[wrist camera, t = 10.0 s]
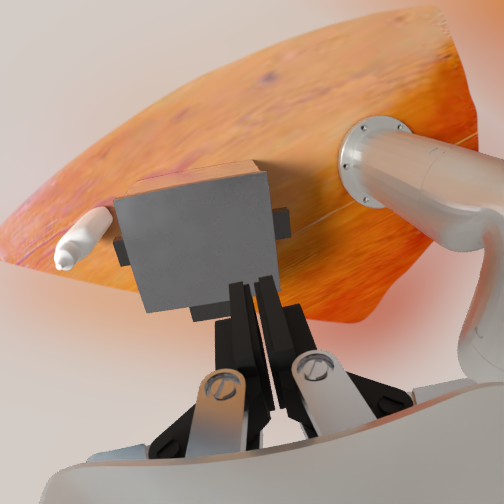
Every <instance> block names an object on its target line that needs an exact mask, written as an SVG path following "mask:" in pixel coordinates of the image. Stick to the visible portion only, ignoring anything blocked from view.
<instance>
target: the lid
mask: <svg viewBox="0 0 504 504" xmlns="http://www.w3.org/2000/svg"><path fill="white" fill-rule="evenodd" d="M113 203H114V207H115V211H116V215H117V218H118V222H119V226H120V230H121V233H122V237H123V241H124V244H125V248H126V251H127V254H128V258H129V261H130V264H131V268H132V271H133V274H134V277H135V280H136V283H137V286H138V289H139V292H140V295H141V298H142V301H143V304H144V307H145V310H146V313H152V312H159V311H165V310H173V309H179V308H186V307H189V308H190V312H191V315H192V319H193V322H197V321H203V320H210V319H216V318H222V317H228V316H231V313H230V299H229V284H231V283H236V282H241V281H243V284H244V285H245V284H249V286H250V290H251V294H252V296H256V293H255V288H254V282H259V279H258V278H259V277H264V276H269V275H272V276H273V279H274V282H275V286H276V289H277V292H280V291H281V290H280V280H279V271H278V262H277V252H276V243H275V234H274V226H273V217H272V208H271V200H270V192H269V183H268V175H267V171H266V170H264V171H257V172H250V173H244V174H237V175H231V176H225V177H219V178H213V179H207V180H202V181H196V182H191V183H185V184H180V185H175V186H170V187H165V188H160V189H155V190H150V191H146V192H141V193H136V194H132V195H128V196H123V197H119V198H116V199H114V200H113Z"/></svg>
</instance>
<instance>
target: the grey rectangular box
mask: <svg viewBox="0 0 504 504" xmlns="http://www.w3.org/2000/svg"><path fill="white" fill-rule="evenodd" d="M257 171H260V170H259V169H258V167H257V166H256V165H255V163H254V162H253V161H252V160H246V161H239V162H233V163H227V164H220V165H214V166H209V167H203V168H197V169H192V170H187V171H181V172H176V173H171V174H166V175H161V176H157V177H152V178H147V179H143V180H138V181H136V182H135V183H134V184H133V186H132V187H131V188H130V189H129V190H128V191H127V192H126V194H125V195H124V196H128V195H132V194H136V193H141V192H146V191H150V190H155V189H160V188H165V187H170V186H175V185H180V184H185V183H191V182H196V181H202V180H207V179H213V178H219V177H225V176H231V175H237V174H244V173H250V172H257ZM272 217H273V226H274V234H275V240H278V239H284V238H290V237H291V230H290V218H289V210H288V209H287V208H286V207H285V208H278V209H272ZM113 245H114V248H115V251H116V254H117V257H118V260H119V263H120V266H121V267H122V266H128V265H131V264H130V261H129V258H128V254H127V251H126V248H125V244H124V241H123V237H122V236H121V237H116V238H115V239H114V241H113Z"/></svg>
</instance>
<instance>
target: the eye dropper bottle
mask: <svg viewBox="0 0 504 504" xmlns="http://www.w3.org/2000/svg"><path fill="white" fill-rule="evenodd" d="M112 221H113V217H112V215H111V214H110V212H109V211H108V209H107V208H106V207H97V208H94V209H92V210H90V211H88V212H87V213H85V214H84V215H83V216H82V217H81V218H80V219H79V220H78V221H77V222H76V223H75V224H74V225H73V226H72V227H71V228H70V230H69V231H68V232H67V233H66V234H65V235H64V236H63V237H62V238H61V240H60V241H59V243H58V244H57V247H56V253H55V256H54V260H55V263H56V268H57V269H58V270H61V269H62V270H66V271H67V270H70V269H72V268H73V266H74V265H75V264H76V262H78V261H80V260H82V259H84V258H85V257H86V256H87V255H88V254H89V253H90V252H91V251H92V250H93V249H94V247H95V246H96V244H97V243H98V242H99V240H100V239H101V237H102V236H103V235H104V233H105V232H106V230H107V229H108V228H109V226H110V225H111V223H112Z"/></svg>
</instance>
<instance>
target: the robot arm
mask: <svg viewBox="0 0 504 504" xmlns="http://www.w3.org/2000/svg"><path fill="white" fill-rule="evenodd" d="M361 126H362V127H363V128H362V129H361ZM344 164H345V167H343V165H344ZM338 171H339V176H340V179H341V182H342V184H343V186H344V188H345V189H346V191H347V193H348V194H349V195H350V196H351V197H352V198H353V199H355V200H356V201H357V202H359V203H360V204H362V205H364V206H367V207H370V208H386V207H387V208H389V209H390V210H392V211H393V212H395V213H396V214H397V215H399V216H400V217H402V218H403V219H405V220H406V221H407V222H409V223H410V224H412V225H413V226H414V227H416V228H417V229H419V230H420V231H421V232H423V233H424V234H425V235H427V236H428V237H430V238H431V239H433V240H434V241H435V242H437V243H438V244H439V245H441V246H442V247H444V248H446V249H448V250H451V251H455V252H471V251H475V250H479V249H482V248H484V250H485V253H484V260H483V264H482V268H481V271H480V277H479V281H478V284H477V287H476V290H475V293H474V296H473V299H472V302H471V305H470V307H469V310H468V313H467V316H466V318H465V321H464V324H463V327H462V330H461V333H460V336H459V341H458V360H459V363H460V366H461V369H462V370H463V372H464V373H465V375H466V376H467V377H468V378H466V379H458V380H455V381H449V382H445V383H440V384H435V385H430V386H425V387H419V388H414V389H413V391H412V392H407V393H406V392H405V391H403V390H400V389H398V388H395V387H391V386H388V385H385V384H382V383H379V382H376V381H373V380H370V379H367V378H364V377H361V376H358V375H355V374H352V373H349V372H346V371H345V370H344V368H343V367H342V365H341V364H340V362H339V361H338V359H337V358H336V357H335V356H334V355H333V354H331V353H329V352H327V351H323V350H317V348H316V345H315V343H314V340H313V337H312V335H311V332H310V329H309V327H308V324H307V321H306V319H305V316H304V313H303V311H302V308H301V306H300V304H295V305H290V306H286V307H282V306H281V302H280V299H279V296H278V292H277V289H276V286H275V282H274V279H273V276H272V275H269V276H264V277H259V278H258V279H259V282H254V288H255V293H256V299H257V304H258V309H259V314H260V319H261V324H262V328H263V334H264V339H265V345H266V350H267V354H268V359H269V363H270V368H271V372H272V376H273V381H274V385H275V389H276V393H277V398H278V402H279V406H280V409H283V408H286V409H287V414H288V417H289V418H291V419H294V420H296V421H298V422H300V426H301V429H302V431H303V433H304V435H305V437H306V440H302V441H298V442H293V443H289V444H284V445H279V446H274V447H269V448H263V432H262V429H263V428H264V427H265V426H266V425H267V423H268V422H269V421H270V420H271V417H270V411H274V410H275V406H274V401H273V395H272V390H271V386H270V379H269V374H268V369H267V364H266V358H265V353H264V348H263V342H262V338H261V333H260V329H259V325H258V321H257V316H256V312H255V307H254V303H253V299H252V294H251V290H250V286H249V284H245V285H244V284H243V281H241V282H236V283H231V284H229V299H230V313H231V318H229V319H224V320H218V321H216V322H215V368H216V371H214V372H211V373H210V374H209V375H207V376H206V377H205V378H204V379H203V380H202V382H201V385H200V387H199V392H198V396H197V401H196V404H195V405H193V406H192V407H191V408H190V409H189V410H188V411H187V412H186V413H185V414H183V415H182V416H181V417H180V418H179V419H178V420H177V421H175V422H174V423H173V424H172V425H171V426H170V427H169V428H168V429H166V430H165V431H164V432H163V433H162V434H161V435H159V436H158V437H157V438H156V439H155V440H154V441H153V442H152V444H151V445H148V446H146V445H144V444H140V445H135V446H131V447H127V448H122V449H117V450H112V451H108V452H101V453H97V454H94V455H92V456H91V457H90V458H88V459H87V461H86V463H81V464H77V465H74V466H71V467H67V468H65V469H62V470H60V471H59V472H57V473H55V474H54V475H53V476H52V477H51V478H50V479H49V480H48V482H47V484H46V486H45V488H44V490H43V493H42V496H41V499H40V502H39V504H504V160H503V159H499V158H496V157H492V156H489V155H486V154H483V153H480V152H476V151H473V150H470V149H467V148H463V147H460V146H457V145H454V144H450V143H447V142H443V141H439V140H436V139H432V138H428V137H424V136H420V135H416V134H413V133H412V132H411V130H410V129H409V128H408V127H407V126H406V125H405V124H404V123H402V122H401V121H399V120H397V119H395V118H392V117H389V116H371V117H367V118H365V119H363V120H361V121H359V122H358V123H357V124H355V125H354V126H353V127H352V128H351V129H350V130H349V131H348V133H347V134H346V136H345V138H344V139H343V141H342V144H341V147H340V150H339V156H338Z"/></svg>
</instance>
